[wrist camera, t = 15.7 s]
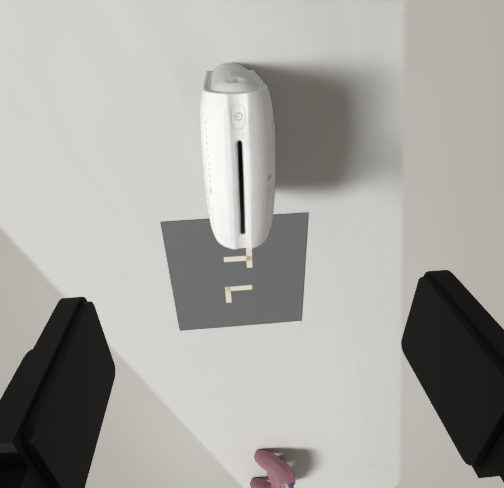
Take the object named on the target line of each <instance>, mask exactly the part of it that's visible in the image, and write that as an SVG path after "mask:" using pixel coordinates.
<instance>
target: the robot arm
mask: <svg viewBox="0 0 504 488" xmlns="http://www.w3.org/2000/svg"><path fill="white" fill-rule="evenodd" d="M401 345H402V350H403V352H404V354H405V356H406V358H407V360H408V362H409V363H410V365H411V367H412V369H413V371H414V372H415V374H416V376H417V378H418V379H419V381H420V383H421V385H422V387H423V389H424V390H425V392H426V394H427V396H428V398H429V399H430V401H431V403H432V405H433V407H434V408H435V410H436V412H437V414H438V416H439V417H440V419H441V421H442V423H443V424H444V426H445V428H446V430H447V432H448V434H449V435H450V437H451V439H452V441H453V443H454V444H455V446H456V448H457V450H458V452H459V453H460V455H461V457H462V458H463V460H464V461H465V462H466V464H468V465H472V467H473V468H474V470H475V472H476V474H477V476H478V477H479V478H484V477H493V476H500V477H501V478H502V480H503V482H504V330H503V329H502V327H501V326H500V325H499V324H498V323H497V322H496V321H495V320H494V319H493V318H492V316H491V315H490V314H489V313H488V312H487V311H486V310H485V309H484V308H483V306H482V305H481V304H480V303H479V302H478V301H477V300H476V299H475V298H474V297H473V295H472V294H471V293H470V292H469V291H468V290H467V289H466V288H465V287H464V286H463V284H462V283H461V282H460V281H459V280H458V279H457V278H456V277H455V276H454V275H453V273H451V272H450V271H448V270H442V271H429V272H426V273H425V275H424V277H421V278H420V279H419V281H418V284H417V289H416V291H415V295H414V299H413V302H412V305H411V309H410V313H409V316H408V320H407V323H406V327H405V330H404V334H403V337H402V342H401ZM114 378H115V365H114V362H113V359H112V356H111V353H110V350H109V347H108V344H107V341H106V338H105V336H104V333H103V330H102V327H101V324H100V321H99V318H98V315H97V312H96V309H95V306H94V304H93V303H92V302H87V300H86V299H85V298H84V297H75V298H62V299H61V300H60V301H59V302H58V304H57V306H56V308H55V309H54V311H53V313H52V315H51V317H50V319H49V321H48V323H47V324H46V326H45V328H44V330H43V332H42V334H41V336H40V337H39V339H38V341H37V343H36V345H35V346H34V349H32V350H30V351H29V352H28V353H27V354H26V355H25V357H24V358H23V360H22V362H21V364H20V365H19V367H18V369H17V371H16V373H15V374H14V376H13V378H12V380H11V381H10V383H9V385H8V387H7V389H6V390H5V392H4V394H3V396H2V398H1V400H0V488H85V484H86V481H87V477H88V473H89V470H90V466H91V462H92V459H93V455H94V452H95V448H96V444H97V441H98V436H99V433H100V430H101V426H102V422H103V418H104V415H105V411H106V407H107V404H108V400H109V397H110V393H111V389H112V385H113V382H114Z"/></svg>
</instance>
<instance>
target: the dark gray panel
mask: <svg viewBox="0 0 504 488" xmlns="http://www.w3.org/2000/svg"><path fill="white" fill-rule="evenodd" d="M307 222H308V213H292V214H277V215H273V219H272V225H271V228H270V231H269V234H268V237H267V239H266V240H265V241H264V242H263V243H262V244H261V245H259V246H258V247H255V248H253V249H250V248H239V249H230V248H227V247H225V246H223V245H221V244H220V243H219V242H218V241H217V240H216V238H215V236H214V233H213V231H212V228H211V224H210V219H197V220H181V221H166V222H161V228H162V234H163V239H164V245H165V250H166V256H167V261H168V267H169V273H170V278H171V284H172V289H173V295H174V301H175V306H176V312H177V317H178V323H179V328H180V331H181V330H193V329H205V328H217V327H230V326H242V325H254V324H266V323H279V322H291V321H301V317H302V301H303V285H304V269H305V254H306V238H307Z"/></svg>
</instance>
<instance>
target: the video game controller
mask: <svg viewBox="0 0 504 488" xmlns="http://www.w3.org/2000/svg"><path fill="white" fill-rule="evenodd" d="M254 457H255V460H256V462H257V463H258V464H259V465H260V466H261V467H262V468H263V469H265V470H266V471H267V475H268V478H269V480H270V482H268V481H266V480H264V479H261V478H253V479H252V480H251V482H250V485H251V488H293V485H294V484H295V477H294V474H293V471H292V469H291V468H290V466H289V465H288V464H287V463H286V462H285V461H282V460H281V459H280V458H279V457H277V456H276V455H274V454H273V453H271V452H269V451H266V450H257V451H256V452H255V455H254Z"/></svg>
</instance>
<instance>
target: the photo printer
mask: <svg viewBox="0 0 504 488" xmlns="http://www.w3.org/2000/svg"><path fill="white" fill-rule="evenodd" d="M200 122H201V143H202V157H203V169H204V179H205V189H206V198H207V205H208V213H209V219H210V224H211V228H212V231H213V233H214V236H215V238H216V240H217V241H218V242H219V243H220V244H221V245H223V246H225V247H227V248H230V249H239V248H250V249H253V248H255V247H258V246H259V245H261V244H262V243H263V242H264V241H265V240H266V239H267V237H268V234H269V231H270V228H271V225H272V219H273V210H274V197H275V157H276V156H275V125H274V118H273V108H272V101H271V97H270V93H269V89H268V86H267V85H266V84H265V83H264V82H263V81H262V80H261V78H260V77H259V76H258V75H257V74H256V72H255V71H254V70H247V69H246V68H245V67H243V66H242V65H239V64H237V63H224V64H221V65H219V66H218V67H216V68H215V69H214V70H213V71H207V72H206V75H205V80H204V85H203V90H202V97H201V107H200Z"/></svg>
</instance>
